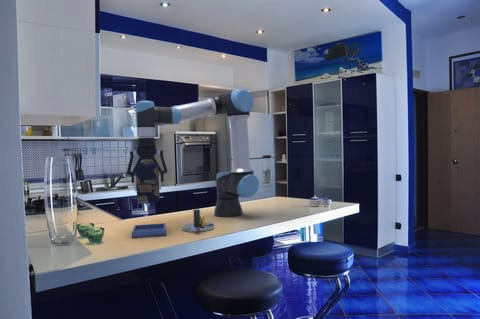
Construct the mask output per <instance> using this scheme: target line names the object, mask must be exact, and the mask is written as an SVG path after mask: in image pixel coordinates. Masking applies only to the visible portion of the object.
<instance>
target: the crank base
mask: <svg viewBox="0 0 480 319" xmlns="http://www.w3.org/2000/svg"><path fill="white" fill-rule="evenodd" d="M205 219H206V218H205V216H204V215H200V229H195V227H194V222H190V223H185V224H183V225H182V226H181V227H182V231H184V232H187V233H205V232H209V231H213V230H214V229H215V224H214V223H213V222H207V221H206V220H205ZM205 221H206V222H205Z"/></svg>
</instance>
